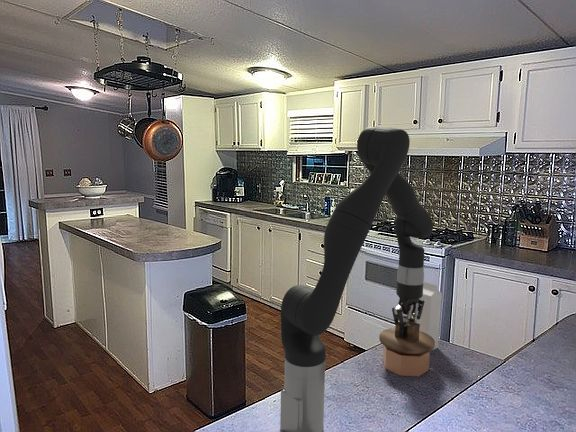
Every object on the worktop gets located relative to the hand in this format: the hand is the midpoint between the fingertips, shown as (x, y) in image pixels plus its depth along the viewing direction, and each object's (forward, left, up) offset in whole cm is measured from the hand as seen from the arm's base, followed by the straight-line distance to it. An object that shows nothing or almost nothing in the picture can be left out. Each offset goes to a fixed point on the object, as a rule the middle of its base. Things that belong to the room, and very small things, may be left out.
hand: (406, 335), depth 128 cm
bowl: (0, 0, -9) cm, 9 cm away
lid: (0, 0, -2) cm, 2 cm away
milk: (+16, +3, -10) cm, 19 cm away
